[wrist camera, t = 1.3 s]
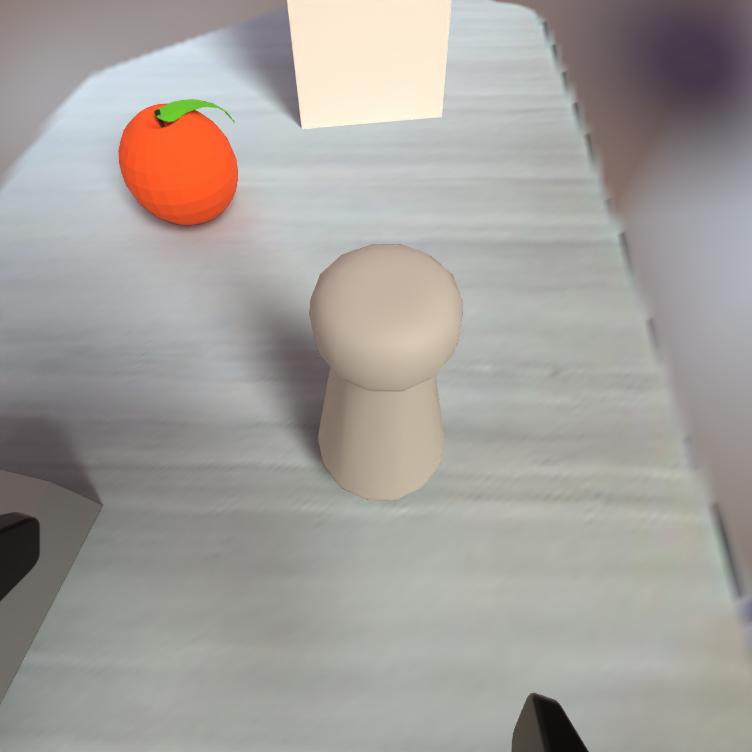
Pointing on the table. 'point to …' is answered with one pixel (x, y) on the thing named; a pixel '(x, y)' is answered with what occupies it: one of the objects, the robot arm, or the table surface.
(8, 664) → the well block
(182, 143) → the clementine
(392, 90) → the milk
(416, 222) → the table surface
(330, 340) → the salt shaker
